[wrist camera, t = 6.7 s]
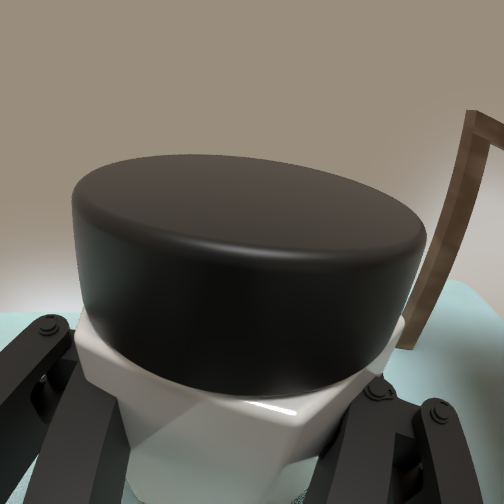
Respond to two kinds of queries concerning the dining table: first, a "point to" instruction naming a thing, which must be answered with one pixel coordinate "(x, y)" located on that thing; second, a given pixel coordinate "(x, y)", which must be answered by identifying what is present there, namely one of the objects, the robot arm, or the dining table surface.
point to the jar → (235, 315)
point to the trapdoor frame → (451, 221)
